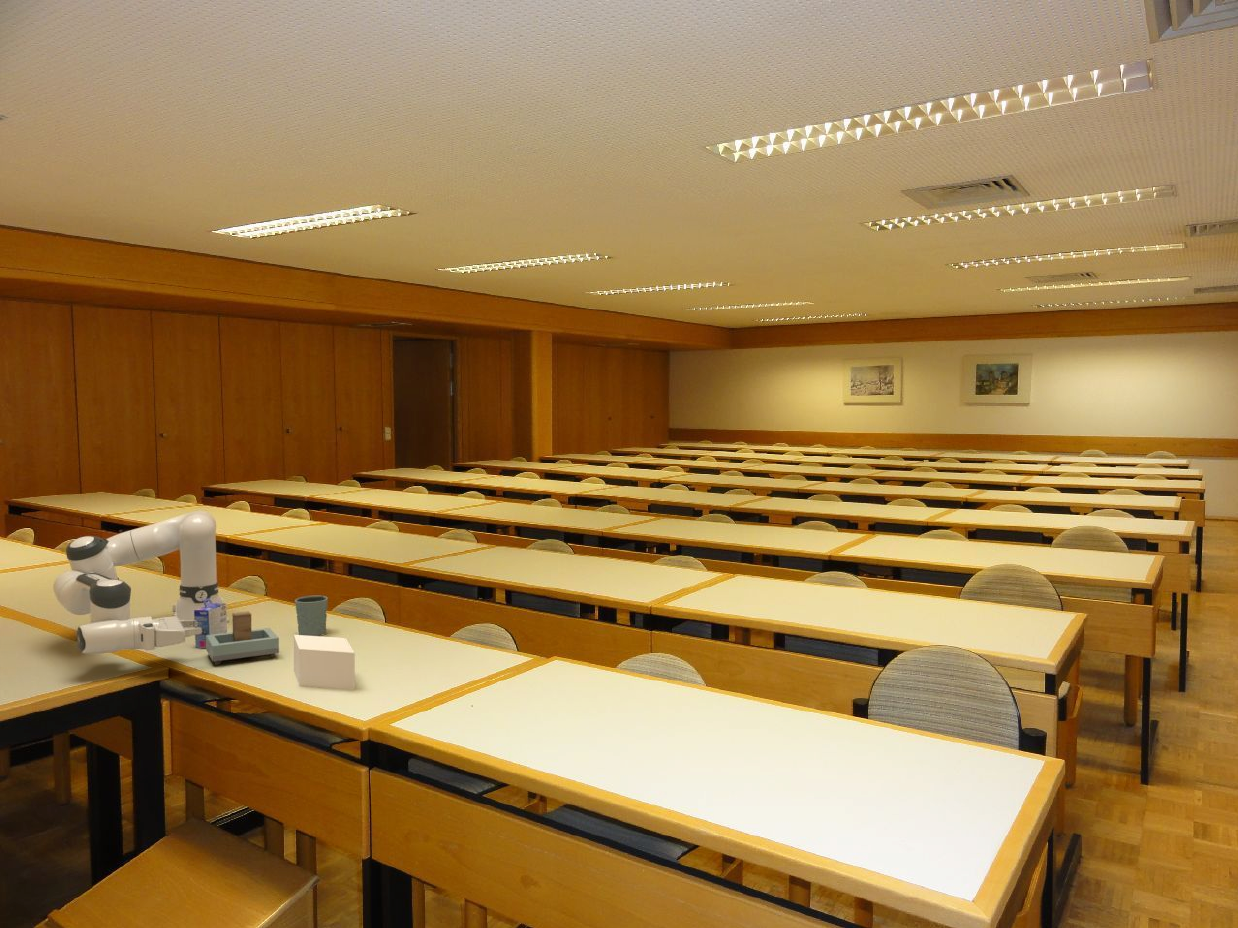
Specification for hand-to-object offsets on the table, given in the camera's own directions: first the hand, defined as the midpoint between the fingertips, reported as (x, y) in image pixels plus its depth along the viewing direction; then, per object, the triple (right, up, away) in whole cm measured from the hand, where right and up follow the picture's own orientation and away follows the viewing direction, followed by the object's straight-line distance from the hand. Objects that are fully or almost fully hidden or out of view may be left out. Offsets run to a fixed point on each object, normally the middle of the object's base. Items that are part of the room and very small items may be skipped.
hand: (199, 626), depth 245 cm
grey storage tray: (+9, -11, +7) cm, 16 cm away
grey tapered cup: (+20, -9, +35) cm, 41 cm away
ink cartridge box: (-7, -10, +21) cm, 24 cm away
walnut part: (+9, -7, +7) cm, 14 cm away
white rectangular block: (+41, -13, -13) cm, 44 cm away
